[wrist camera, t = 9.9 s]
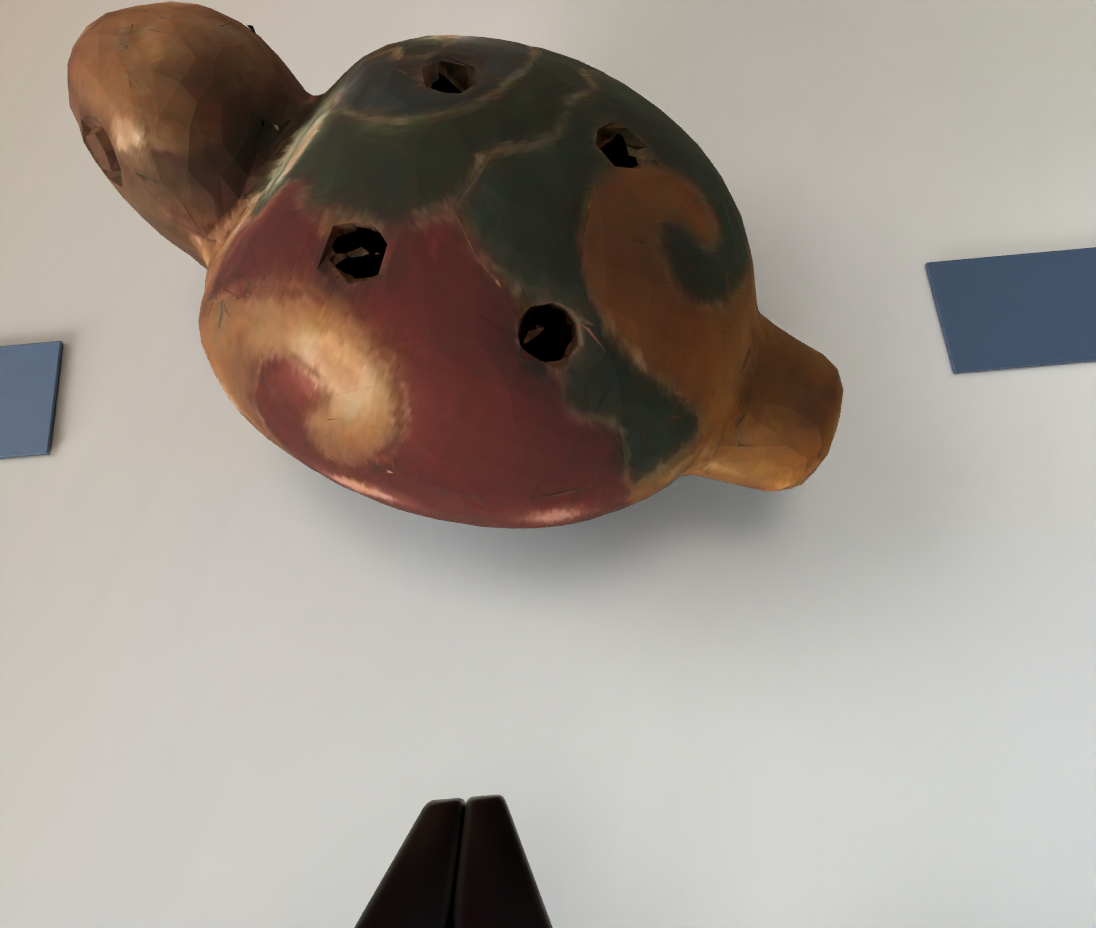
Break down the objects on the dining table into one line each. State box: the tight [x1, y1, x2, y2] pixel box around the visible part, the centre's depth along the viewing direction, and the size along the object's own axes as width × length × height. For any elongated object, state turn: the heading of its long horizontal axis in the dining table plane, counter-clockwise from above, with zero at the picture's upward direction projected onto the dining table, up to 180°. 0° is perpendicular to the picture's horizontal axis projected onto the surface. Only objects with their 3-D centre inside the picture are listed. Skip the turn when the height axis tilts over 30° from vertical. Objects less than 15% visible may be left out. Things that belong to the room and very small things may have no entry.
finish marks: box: [0, 247, 1096, 458], centre depth 19 cm, size 3×38×1 cm, turn 95°
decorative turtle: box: [68, 2, 843, 528], centre depth 15 cm, size 10×15×8 cm, turn 72°
